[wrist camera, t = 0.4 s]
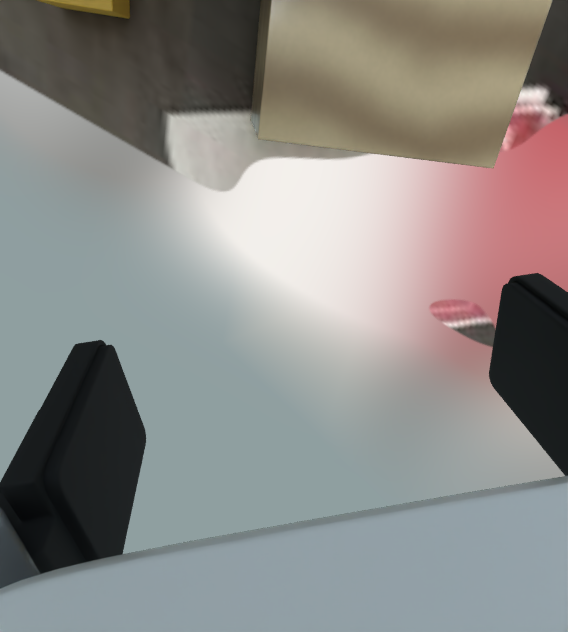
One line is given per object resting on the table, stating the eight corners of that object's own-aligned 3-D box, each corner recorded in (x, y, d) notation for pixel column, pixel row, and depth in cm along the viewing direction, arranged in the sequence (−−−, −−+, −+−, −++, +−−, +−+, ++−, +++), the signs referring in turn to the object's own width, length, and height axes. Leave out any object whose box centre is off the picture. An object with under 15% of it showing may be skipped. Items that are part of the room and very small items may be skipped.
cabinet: (272, -131, 28) (291, -211, 20) (497, -81, 30) (599, -132, 22) (250, 120, 35) (257, 139, 27) (434, 144, 37) (493, 168, 29)
